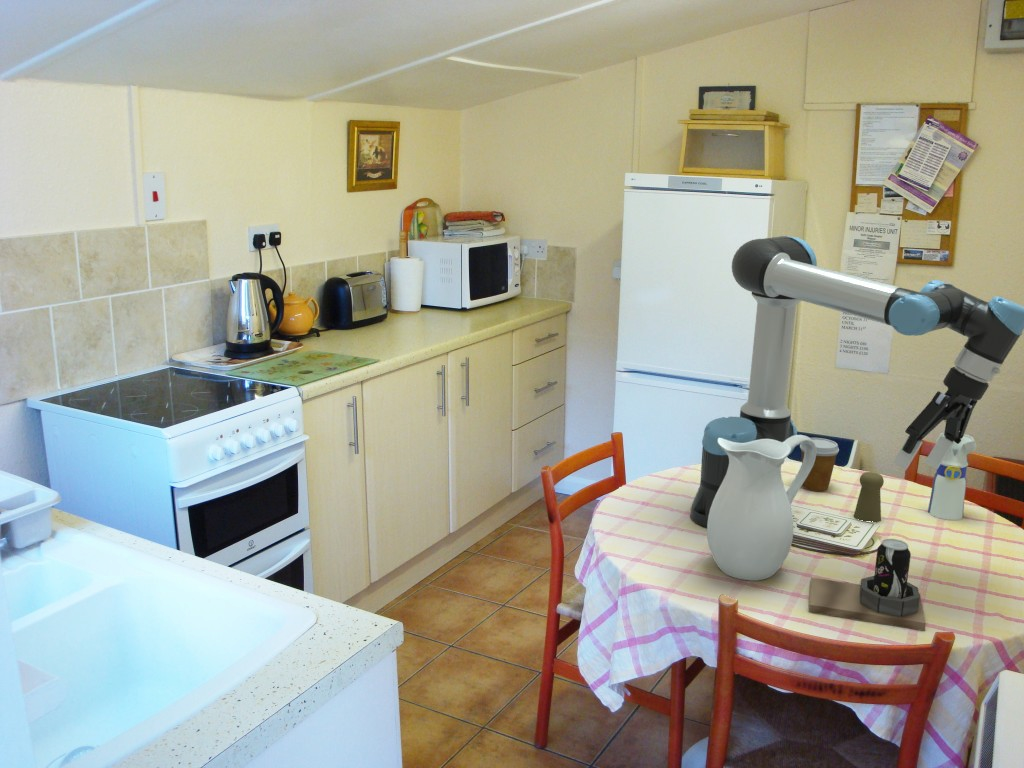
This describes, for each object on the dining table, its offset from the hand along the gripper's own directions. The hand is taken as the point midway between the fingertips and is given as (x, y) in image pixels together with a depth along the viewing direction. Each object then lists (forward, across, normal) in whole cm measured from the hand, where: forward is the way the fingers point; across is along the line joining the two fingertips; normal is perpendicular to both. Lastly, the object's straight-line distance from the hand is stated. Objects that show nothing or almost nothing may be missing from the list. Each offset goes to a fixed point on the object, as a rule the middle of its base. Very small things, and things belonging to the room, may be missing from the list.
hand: (915, 466), depth 185 cm
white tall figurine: (+16, +39, +3) cm, 43 cm away
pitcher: (+31, -19, +9) cm, 37 cm away
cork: (+23, +23, +12) cm, 34 cm away
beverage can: (+21, -16, -15) cm, 30 cm away
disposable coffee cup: (+27, +30, +31) cm, 51 cm away
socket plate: (+23, -18, -12) cm, 32 cm away
